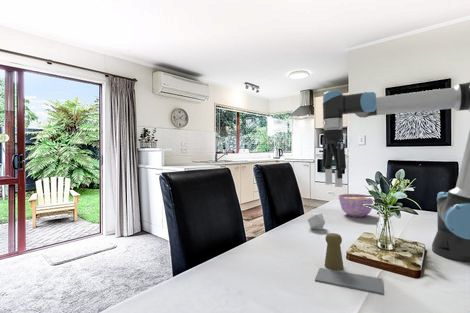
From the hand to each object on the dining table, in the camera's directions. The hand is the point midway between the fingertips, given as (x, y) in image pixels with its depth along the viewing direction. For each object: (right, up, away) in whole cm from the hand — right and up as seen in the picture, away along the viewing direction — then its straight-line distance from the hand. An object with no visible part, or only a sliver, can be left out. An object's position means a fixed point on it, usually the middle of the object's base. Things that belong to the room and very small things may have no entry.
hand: (333, 185), depth 107 cm
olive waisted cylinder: (-7, -26, -19) cm, 32 cm away
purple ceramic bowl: (+33, -24, +52) cm, 66 cm away
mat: (-6, -25, -28) cm, 39 cm away
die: (+1, -25, +26) cm, 36 cm away
